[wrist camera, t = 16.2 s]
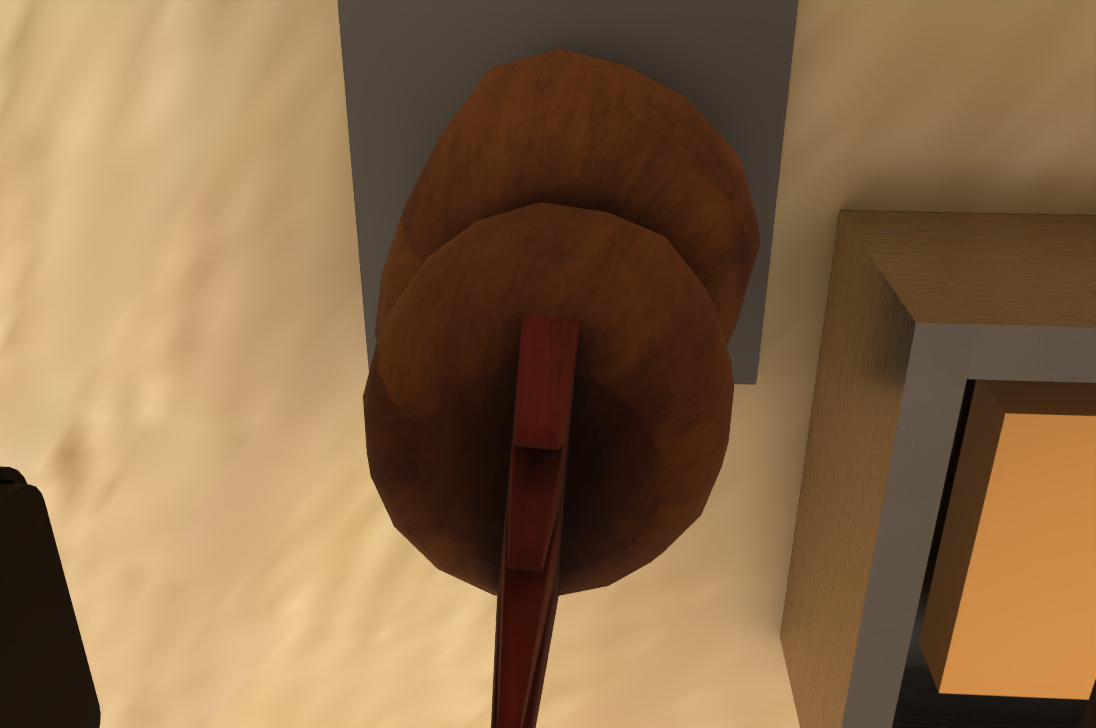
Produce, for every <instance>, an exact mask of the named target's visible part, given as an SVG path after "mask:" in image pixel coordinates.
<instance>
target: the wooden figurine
mask: <svg viewBox="0 0 1096 728" xmlns="http://www.w3.org/2000/svg"><path fill="white" fill-rule="evenodd" d="M759 246H760V234H759V223H758V219H757V216H756V212H755V209H754V205H753V202H752V198H751V195H750V191H749V188H748V184H747V181H746V177H745V174H744V170H743V167H742V163H741V160H740V157H739V156H738V154H737V153H736V151H735V150H734V149H733V147H732V146H731V145H730V144H729V143H728V142H727V140H726V139H725V138H724V137H723V136H722V135H721V134H720V133H719V132H718V131H717V130H716V129H715V128H714V127H713V126H712V124H711V123H710V122H709V121H708V120H707V119H706V118H705V117H704V116H703V115H702V114H701V113H700V112H699V111H698V110H697V109H696V107H695V106H694V105H693V104H692V103H691V102H690V101H689V100H688V99H687V98H686V97H685V96H683V95H681V94H679V93H678V92H676V91H674V90H672V89H670V88H668V87H666V86H664V85H662V84H660V83H659V82H657V81H655V80H653V79H651V78H649V77H647V76H645V75H643V74H641V73H639V72H638V71H636V70H634V69H632V68H630V67H628V66H625V65H622V64H618V63H614V62H610V61H606V60H602V59H598V58H594V57H591V56H587V55H583V54H579V53H575V52H571V51H567V50H563V49H556V50H552V51H549V52H545V53H542V54H538V55H535V56H531V57H528V58H524V59H520V60H517V61H513V62H510V63H506V64H503V65H499V66H496V67H492V68H490V69H489V70H488V72H487V73H486V74H485V76H484V77H483V78H482V80H481V81H480V82H479V84H478V85H477V86H476V88H475V89H474V90H473V92H472V93H471V94H470V96H469V97H468V98H467V100H466V101H465V102H464V104H463V105H462V106H461V108H460V109H459V110H458V112H457V113H456V114H455V116H454V117H453V118H452V120H451V121H450V122H449V124H448V125H447V127H446V128H445V130H444V131H443V132H442V134H441V135H440V137H439V139H438V141H437V143H436V145H435V147H434V149H433V150H432V152H431V154H430V156H429V158H428V160H427V162H426V164H425V166H424V168H423V170H422V172H421V174H420V176H419V178H418V179H417V181H416V183H415V185H414V187H413V189H412V191H411V193H410V195H409V198H408V200H407V203H406V205H405V207H404V210H403V212H402V215H401V218H400V221H399V223H398V226H397V229H396V232H395V235H394V238H393V241H392V244H391V247H390V250H389V252H388V255H387V258H386V261H385V264H384V267H383V270H382V274H381V283H380V291H379V300H378V308H377V316H376V325H375V333H374V335H375V338H376V340H377V343H376V347H375V351H374V355H373V359H372V363H371V367H370V371H369V375H368V379H367V383H366V387H365V391H364V395H363V404H364V419H365V433H366V447H367V457H368V462H369V468H370V474H371V478H372V480H373V482H374V484H375V486H376V488H377V491H378V493H379V495H380V497H381V499H382V501H383V503H384V506H385V508H386V510H387V512H388V514H389V516H390V518H391V521H392V523H393V525H394V527H395V528H396V529H397V530H398V531H399V532H400V533H401V534H402V535H403V536H404V537H406V538H407V539H408V540H409V541H410V542H411V543H412V544H413V545H414V546H415V547H416V548H417V549H418V550H419V551H420V552H421V553H422V554H423V555H424V556H425V557H426V558H427V559H428V560H429V561H430V562H431V563H432V564H433V565H434V566H435V567H436V568H437V569H439V570H441V571H443V572H445V573H448V574H450V575H452V576H454V577H456V578H458V579H460V580H463V581H465V582H467V583H469V584H471V585H473V586H475V587H478V588H480V589H482V590H484V591H486V592H488V593H490V594H492V595H497V613H496V634H495V654H494V675H493V697H492V718H491V728H536V722H537V717H538V711H539V705H540V700H541V694H542V688H543V683H544V677H545V671H546V666H547V660H548V654H549V648H550V643H551V637H552V631H553V625H554V620H555V614H556V608H557V602H558V597H559V596H560V595H565V594H570V593H575V592H580V591H585V590H590V589H595V588H600V587H605V586H609V585H611V584H612V583H614V582H616V581H618V580H620V579H621V578H623V577H625V576H627V575H629V574H630V573H632V572H634V571H636V570H638V569H639V568H641V567H643V566H645V565H647V564H648V563H650V562H652V561H653V560H654V559H655V558H657V557H658V556H659V555H661V554H662V553H663V552H664V551H665V550H666V549H667V548H668V547H669V546H670V545H671V544H672V543H673V542H674V541H675V540H676V539H677V538H678V537H679V536H680V535H681V534H682V533H683V532H684V531H685V530H686V529H687V528H688V527H689V526H690V525H691V524H692V523H694V522H695V521H696V520H697V519H698V518H699V517H700V516H701V514H702V511H703V509H704V507H705V504H706V502H707V500H708V497H709V495H710V493H711V490H712V488H713V486H714V483H715V481H716V479H717V476H718V474H719V472H720V469H721V467H722V463H723V459H724V456H725V452H726V449H727V445H728V441H729V432H730V422H731V412H732V402H733V392H734V381H733V373H732V366H731V359H730V356H729V353H728V349H727V344H728V342H729V340H730V338H731V336H732V334H733V331H734V329H735V327H736V325H737V321H738V318H739V315H740V312H741V308H742V305H743V302H744V298H745V295H746V291H747V288H748V284H749V281H750V277H751V274H752V270H753V267H754V264H755V260H756V257H757V253H758V250H759Z"/></svg>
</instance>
